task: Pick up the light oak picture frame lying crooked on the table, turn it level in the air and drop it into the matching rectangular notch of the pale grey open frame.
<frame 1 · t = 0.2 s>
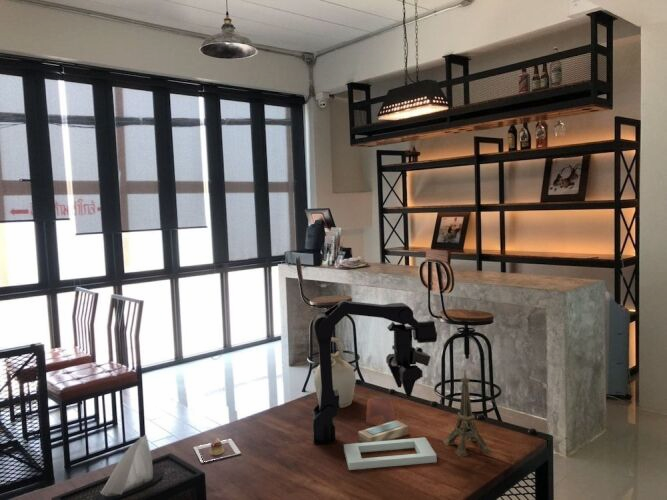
hand: (404, 391, 171), 13 cm above the table, tool pointing down, fingers open, 9 cm apart
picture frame: (383, 438, 171), on the table
pale grey open frame: (389, 456, 157), on the table
dessert: (217, 454, 165), on the table
jug: (335, 403, 202), on the table
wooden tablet: (380, 412, 192), on the table
eiffel tower: (466, 447, 161), on the table
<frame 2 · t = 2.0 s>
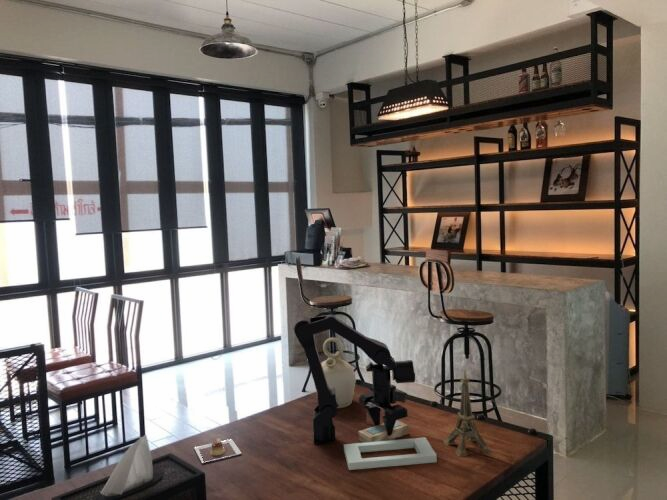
hand: (383, 431, 170), 2 cm above the table, tool pointing down, fingers closed on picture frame, 6 cm apart
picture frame: (383, 437, 171), on the table, touching gripper
everything else where it was.
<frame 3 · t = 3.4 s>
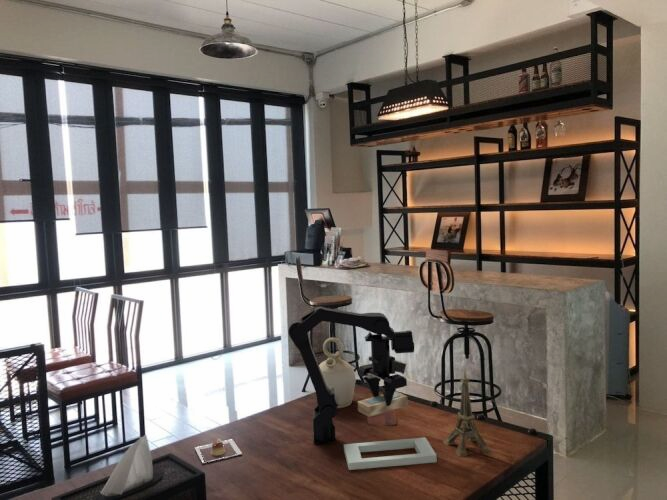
hand: (382, 402, 170), 11 cm above the table, tool pointing down, fingers closed on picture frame, 6 cm apart
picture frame: (383, 408, 170), point 9 cm above the table, touching gripper
everything else where it was.
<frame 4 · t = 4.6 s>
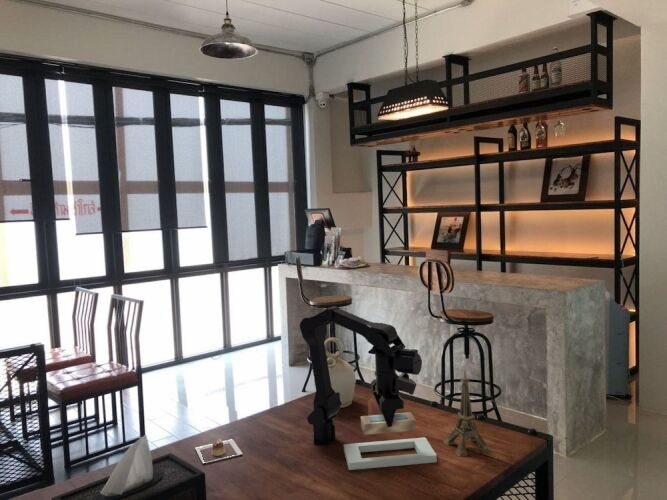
hand: (387, 422, 156), 10 cm above the table, tool pointing down, fingers closed on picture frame, 6 cm apart
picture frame: (388, 428, 156), point 8 cm above the table, touching gripper
everything else where it was.
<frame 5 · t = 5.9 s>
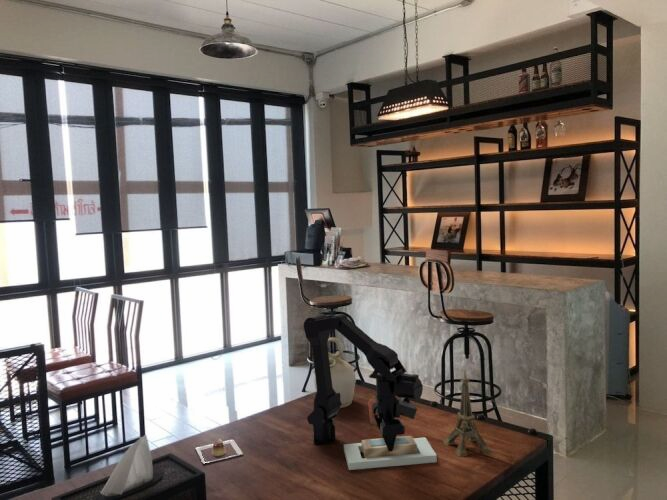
hand: (388, 446, 157), 3 cm above the table, tool pointing down, fingers closed on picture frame, 6 cm apart
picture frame: (389, 452, 157), point 1 cm above the table, touching gripper
everything else where it was.
when the fingers open (3 cm above the table, at t = 6.7 s): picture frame drops 2 cm, resting in pale grey open frame.
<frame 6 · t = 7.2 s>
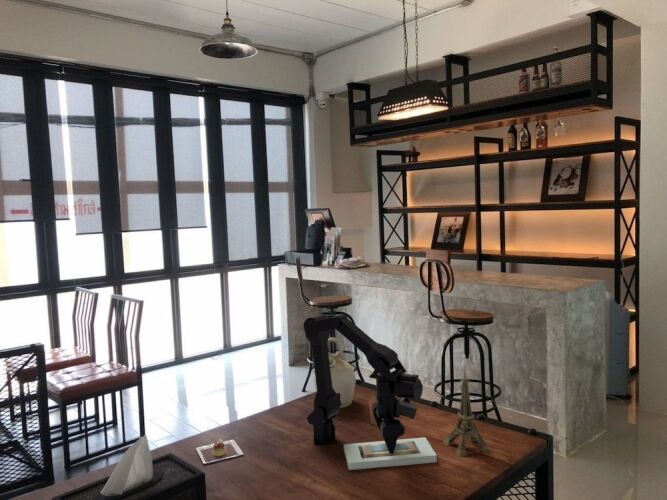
hand: (388, 446, 157), 3 cm above the table, tool pointing down, fingers open, 9 cm apart
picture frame: (389, 457, 157), resting in pale grey open frame
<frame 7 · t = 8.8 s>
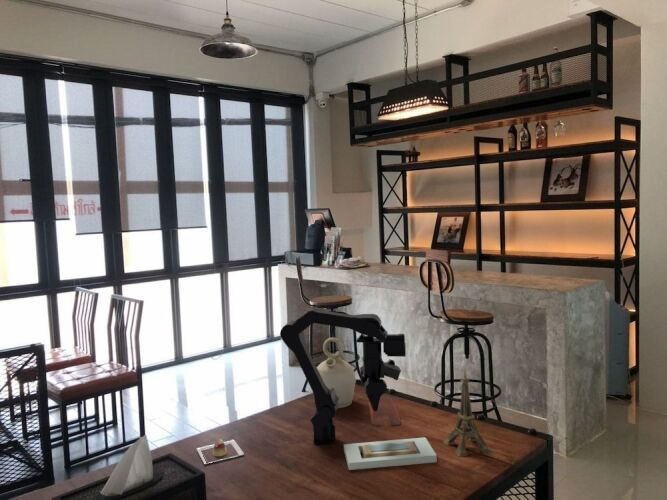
hand: (373, 405, 167), 11 cm above the table, tool pointing down, fingers open, 9 cm apart
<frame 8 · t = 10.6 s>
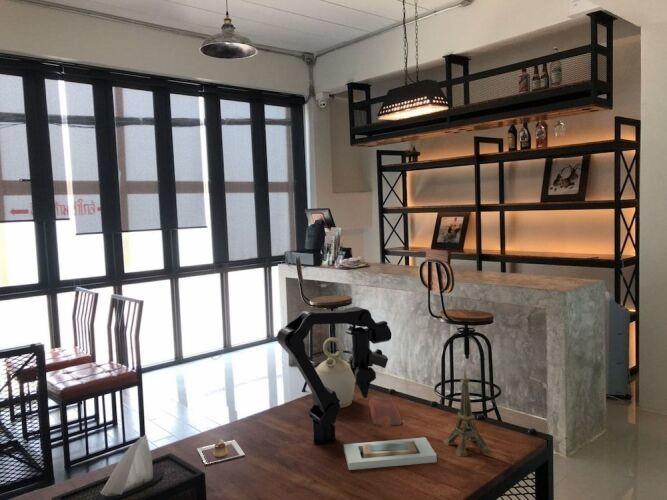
hand: (362, 392, 177), 12 cm above the table, tool pointing down, fingers open, 9 cm apart
at the end: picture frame resting in pale grey open frame; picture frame 0.1 cm off-centre on the pale grey open frame, point -0.5 cm above the pale grey open frame's base; the gripper is holding nothing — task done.
